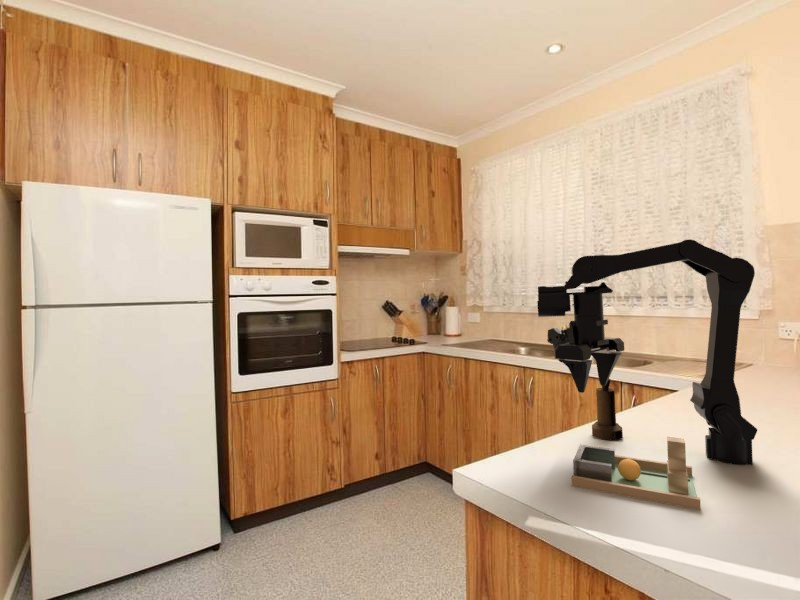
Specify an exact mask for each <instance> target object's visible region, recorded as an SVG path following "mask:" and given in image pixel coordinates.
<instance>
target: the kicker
mask: <svg viewBox="0 0 800 600" xmlns="http://www.w3.org/2000/svg"><path fill="white" fill-rule="evenodd" d="M666 439H667V441H666V443H667V445H666V446H667V460H666V463H667V478H668V487H669V492H674V493H680V494H686V495H688V474H687V470H686V465H687V457H686V456H687V455H686V453H687V452H686V440H685V438H682V437H675V436H667V437H666Z"/></svg>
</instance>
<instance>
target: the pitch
mask: <svg viewBox="0 0 800 600" xmlns="http://www.w3.org/2000/svg"><path fill="white" fill-rule="evenodd" d="M624 459H631V460H634V461H635V462H636V463H637V464H638V465H639V466H640V469H641V474H640V476H639V478H638V479H636V480H627V479H625V478H623V477H622V476H621V475H620V473H619V471H618V465H619V463H620V462H621V461H622V460H624ZM686 470H687V474H688V495H686V494H680V493H674V492H669V487H668V478H667V461H666V462H664V461H658V460H651V459H645V458H637V457H631V456H623V455H617V454H615V470H614V469H612V482H608V481H602V480H596V479H590V478H585V477H579V476H574V474H573V475H571V487H573V488H574V487H575V488H580V489H585V490H590V491H596V492H602V493H606V494H611V495H612V494H613V495H616V496H617V495H618V496H623V497H629V498H632V499H633V498H634V499H639V500H644V501H650V502H655V503H659V504H665V505H669V506H670V505H671V506H676V507H681V508H686V509H687V508H688V509H692V510H698V511H701V510H702V508H701V507H702V505H701V498H700V497H698V494H697V490H696V486H695V482H694V478H693V467H692V465H687V464H686Z"/></svg>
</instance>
